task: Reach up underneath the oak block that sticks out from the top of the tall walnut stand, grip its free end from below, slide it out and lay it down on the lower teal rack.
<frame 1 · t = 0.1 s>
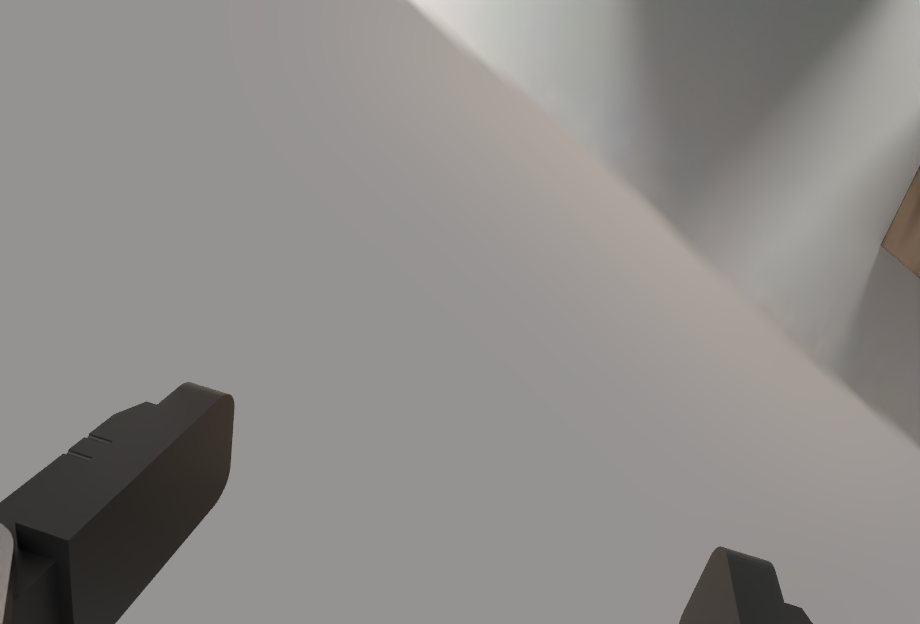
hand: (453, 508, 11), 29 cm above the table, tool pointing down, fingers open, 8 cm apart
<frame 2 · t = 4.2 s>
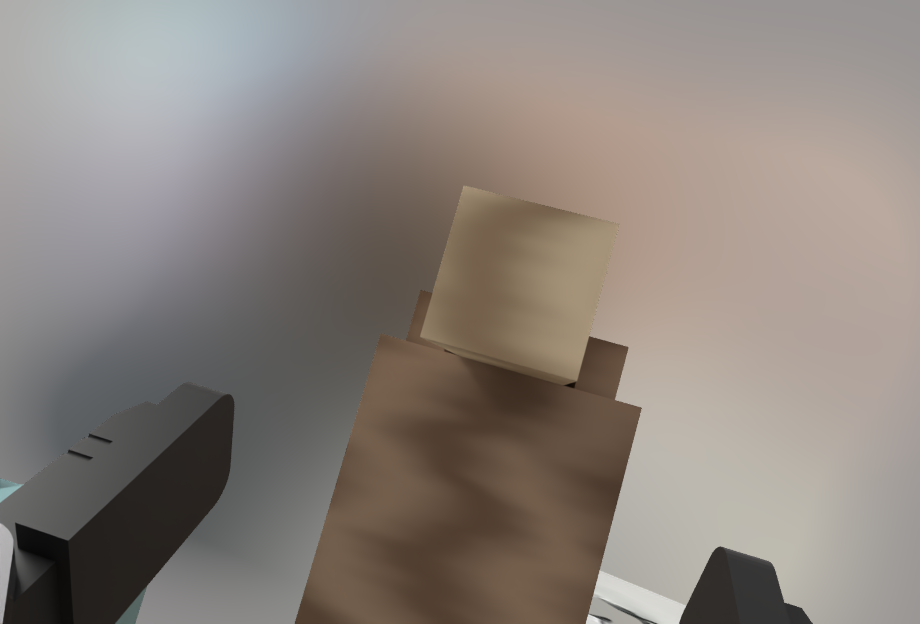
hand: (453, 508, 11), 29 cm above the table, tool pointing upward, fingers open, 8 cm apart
oak block: (513, 373, 29), point 32 cm above the table, touching walnut stand
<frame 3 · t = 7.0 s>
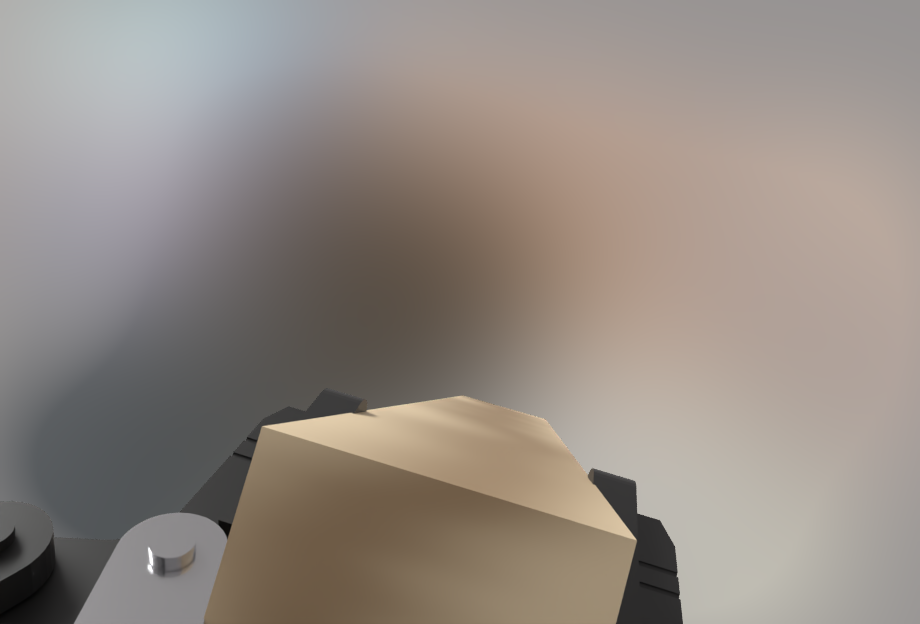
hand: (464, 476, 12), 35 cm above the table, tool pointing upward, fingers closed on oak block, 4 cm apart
oak block: (454, 559, 19), point 32 cm above the table, touching gripper, walnut stand
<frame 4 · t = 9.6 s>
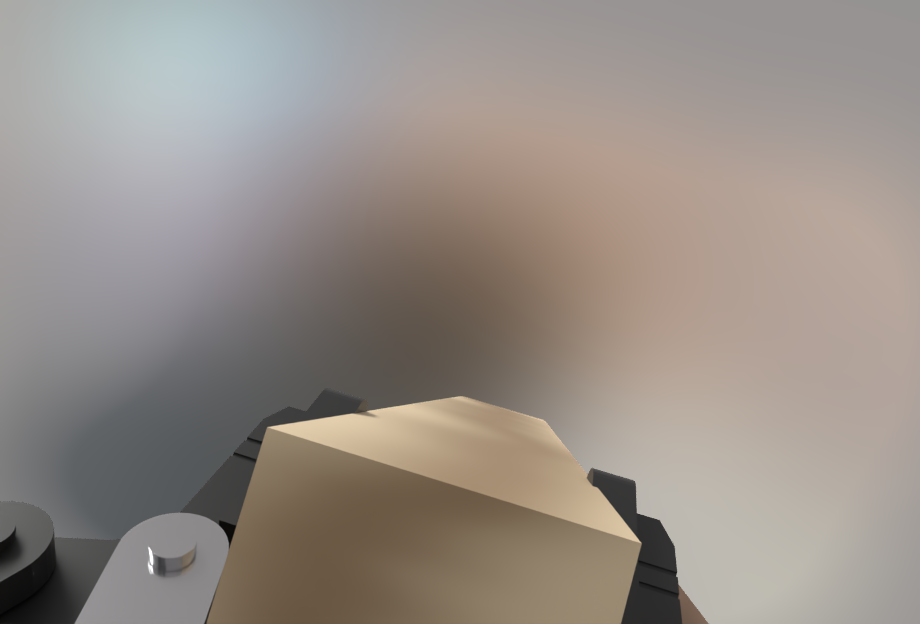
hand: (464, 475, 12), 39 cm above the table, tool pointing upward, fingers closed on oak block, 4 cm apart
oak block: (454, 560, 19), point 36 cm above the table, touching gripper
when the fingers open (29 cm above the table, at t = 12.6 s): oak block drops 1 cm, resting on teal rack.
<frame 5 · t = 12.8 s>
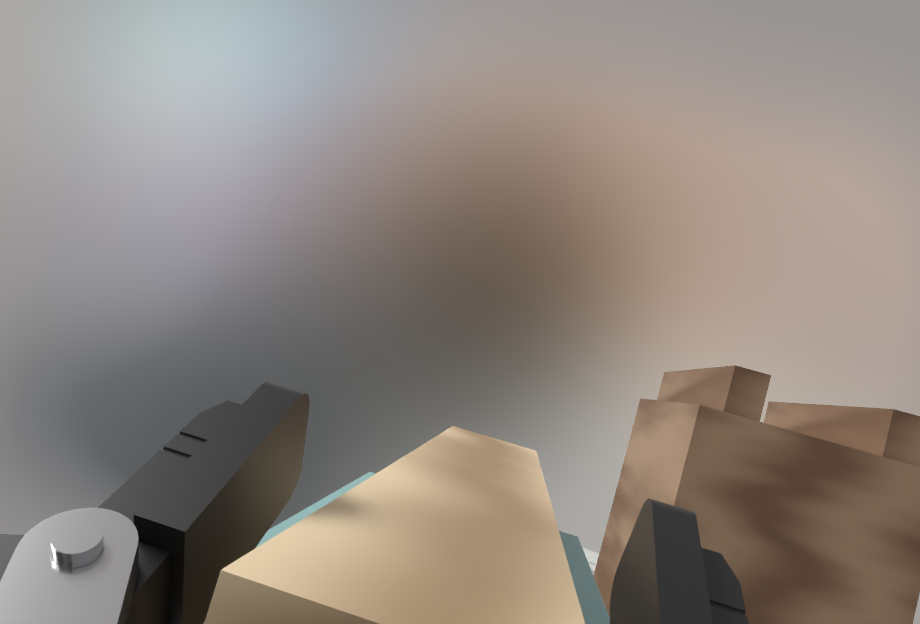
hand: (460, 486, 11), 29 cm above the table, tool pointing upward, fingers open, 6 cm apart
oak block: (439, 613, 19), point 24 cm above the table, touching teal rack
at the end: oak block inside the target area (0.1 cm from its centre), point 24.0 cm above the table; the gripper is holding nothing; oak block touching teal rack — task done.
